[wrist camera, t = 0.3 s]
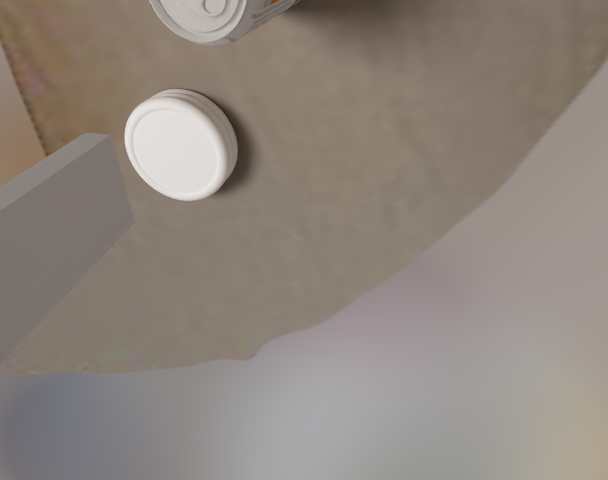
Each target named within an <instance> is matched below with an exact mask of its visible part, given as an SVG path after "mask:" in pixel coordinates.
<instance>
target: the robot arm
mask: <svg viewBox="0 0 608 480" xmlns="http://www.w3.org/2000/svg"><path fill="white" fill-rule="evenodd" d="M134 222H135V220H134V217H133V213H132V210H131V206H130V202H129V199H128V195H127V191H126V188H125V184H124V180H123V177H122V173H121V169H120V166H119V162H118V158H117V155H116V151H115V147H114V144H113V140H112V137H111V135H109V134H94V133H84V134H83V135H81V136H80V137H78V138H77V139H75V140H73V141H72V142H70V143H69V144H67V145H65V146H64V147H62V148H61V149H59V150H57V151H56V152H54V153H53V154H51V155H50V156H48V157H46V158H45V159H43V160H42V161H40V162H38V163H37V164H35V165H34V166H32V167H31V168H29V169H27V170H26V171H24V172H23V173H21V174H19V175H18V176H16V177H15V178H13V179H12V180H10V181H9V182H7V183H5V184H4V185H2V186H0V364H1V363H2V362H3V361H4V359H5V358H6V357H7V356H8V355H9V354H10V353H11V352H12V351H13V350H14V349H15V348H16V347H17V346H18V345H19V344H20V343H21V342H22V340H23V339H24V338H25V337H26V336H27V335H28V334H29V333H30V332H31V331H32V330H33V329H34V328H35V327H36V326H37V325H38V324H39V323H40V322H41V320H42V319H43V318H44V317H45V316H46V315H47V314H48V313H49V312H50V311H51V310H52V309H53V308H54V307H55V306H56V305H57V304H58V303H59V301H60V300H61V299H62V298H63V297H64V296H65V295H66V294H67V293H68V292H69V291H70V290H71V289H72V288H73V287H74V286H75V285H76V284H77V282H78V281H79V280H80V279H81V278H82V277H83V276H84V275H85V274H86V273H87V272H88V271H89V270H90V269H91V268H92V267H93V266H94V265H95V264H96V262H97V261H98V260H99V259H100V258H101V257H102V256H103V255H104V254H105V253H106V252H107V251H108V250H109V249H110V248H111V247H112V246H113V245H114V243H115V242H116V241H117V240H118V239H119V238H120V237H121V236H122V235H123V234H124V233H125V232H126V231H127V230H128V229H129V228H130V227H131V226H132V224H133V223H134Z"/></svg>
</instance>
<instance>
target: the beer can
mask: <svg viewBox="0 0 608 480" xmlns="http://www.w3.org/2000/svg"><path fill="white" fill-rule="evenodd" d="M299 1H300V0H150V3H151V5H152V7H153V8H154V10H155V12H156V13H157V15H158V16H159V18H160V19H161V20H162V21H163V23H164V24H165V25H166V26H167V27H168V28H170V29H171V30H172V31H173V32H175V33H176V34H178V35H179V36H181V37H183V38H185V39H188V40H190V41H191V42H194V43H197V44H200V45H204V46H222V45H226V44H229V43H231V42H234V41H235V40H237V39H239V38H240V37H242V36H244V35H245V34H247V33H249V32H250V31H252V30H254V29H255V28H257V27H259V26H260V25H262V24H264V23H265V22H267V21H269V20H270V19H272V18H274V17H275V16H277V15H279V14H280V13H282V12H284V11H285V10H287V9H289V8H290V7H292V6H294V5H295V4H296V3H298V2H299Z"/></svg>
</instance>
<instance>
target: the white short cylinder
mask: <svg viewBox="0 0 608 480" xmlns="http://www.w3.org/2000/svg"><path fill="white" fill-rule="evenodd" d="M125 145H126V150H127V153H128V156H129V158H130V161H131V163H132V165H133V166H134V168H135V170H136V171H137V172H138V174H139V175H140V176H141V177H142V178H143V179H144V181H145V182H147V183H148V184H149V185H150V186H151V187H152V188H154V189H155V190H157V191H158V192H160V193H162V194H164V195H166V196H168V197H171V198H174V199H178V200H184V201H194V200H200V199H203V198H206V197H208V196H210V195H212V194H214V193H215V192H216V191H217V190H219V189H220V187H221V186H222V185H223V183H224V182H225V181H226V180H227V178H228V177H229V176H230V175H231V173H232V171H233V170H234V167H235V165H236V161H237V154H238V145H237V139H236V135H235V132H234V129H233V127H232V125H231V123H230V121H229V120H228V118H227V117H226V115H225V114H224V113H223V111H222V110H221V109H220V108H219V107H218V106H217V105H216V104H214V103H213V102H212V101H211V100H209V99H208V98H206V97H205V96H203V95H201V94H199V93H196V92H193V91H190V90H185V89H169V90H165V91H162V92H159V93H157V94H155V95H154V96H152V97H151V98H149V99H147V100H146V101H144V102H143V103H141V104H140V105H138V106H137V107H136V108H135V109H134V111H133V112H132V113H131V115H130V117H129V119H128V121H127V124H126V128H125Z"/></svg>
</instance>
